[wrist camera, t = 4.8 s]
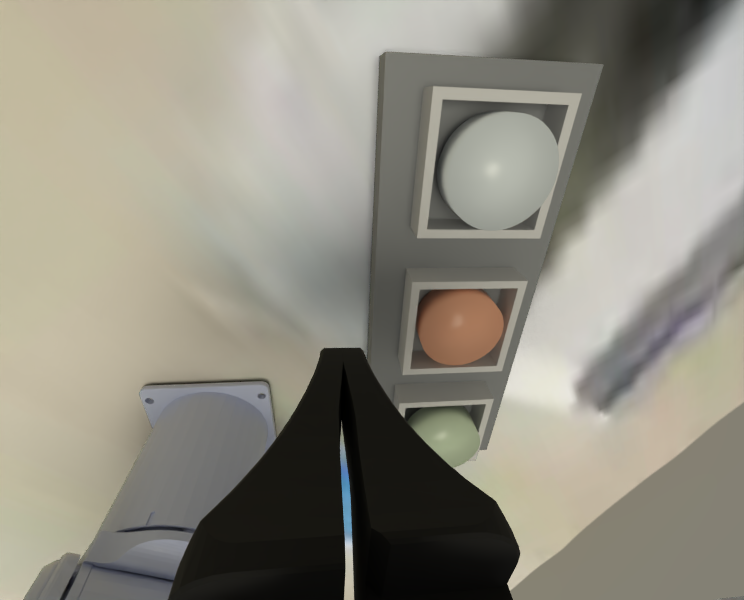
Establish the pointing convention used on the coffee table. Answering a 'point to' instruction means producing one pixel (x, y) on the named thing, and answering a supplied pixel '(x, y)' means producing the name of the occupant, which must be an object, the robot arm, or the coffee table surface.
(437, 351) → the terracotta button
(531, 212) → the blue-grey button
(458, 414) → the sage button
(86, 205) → the coffee table surface
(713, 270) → the coffee table surface
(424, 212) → the button panel
